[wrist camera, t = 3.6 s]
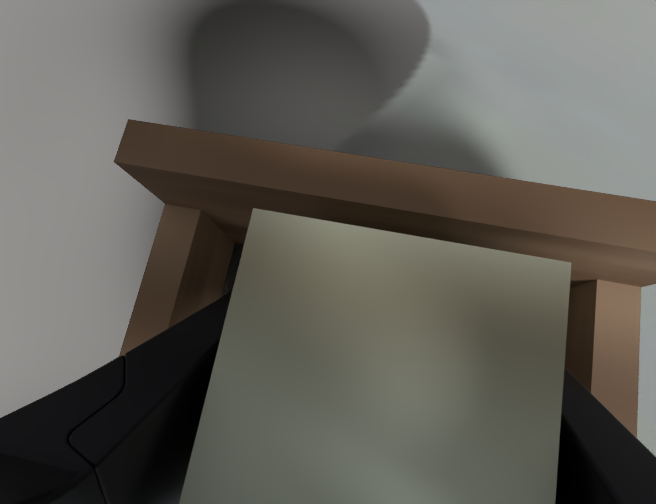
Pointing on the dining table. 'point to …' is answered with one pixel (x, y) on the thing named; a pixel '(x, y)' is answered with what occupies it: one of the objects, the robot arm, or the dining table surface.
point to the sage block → (382, 372)
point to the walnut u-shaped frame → (395, 216)
